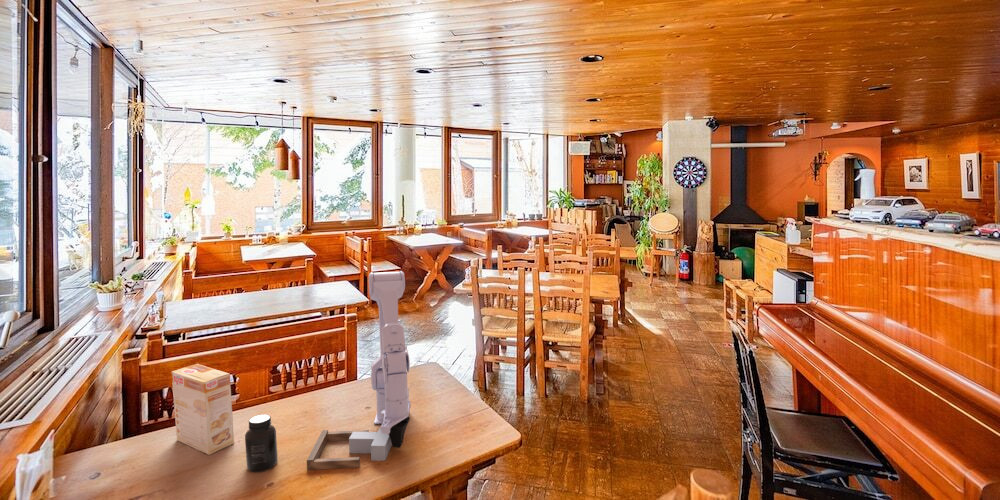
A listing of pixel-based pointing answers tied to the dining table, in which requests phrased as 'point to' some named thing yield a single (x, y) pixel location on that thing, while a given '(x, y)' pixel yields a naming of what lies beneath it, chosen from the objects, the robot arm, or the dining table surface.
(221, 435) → the coffeecake box
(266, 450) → the supplement bottle
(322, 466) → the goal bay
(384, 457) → the tee block
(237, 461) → the dining table surface
